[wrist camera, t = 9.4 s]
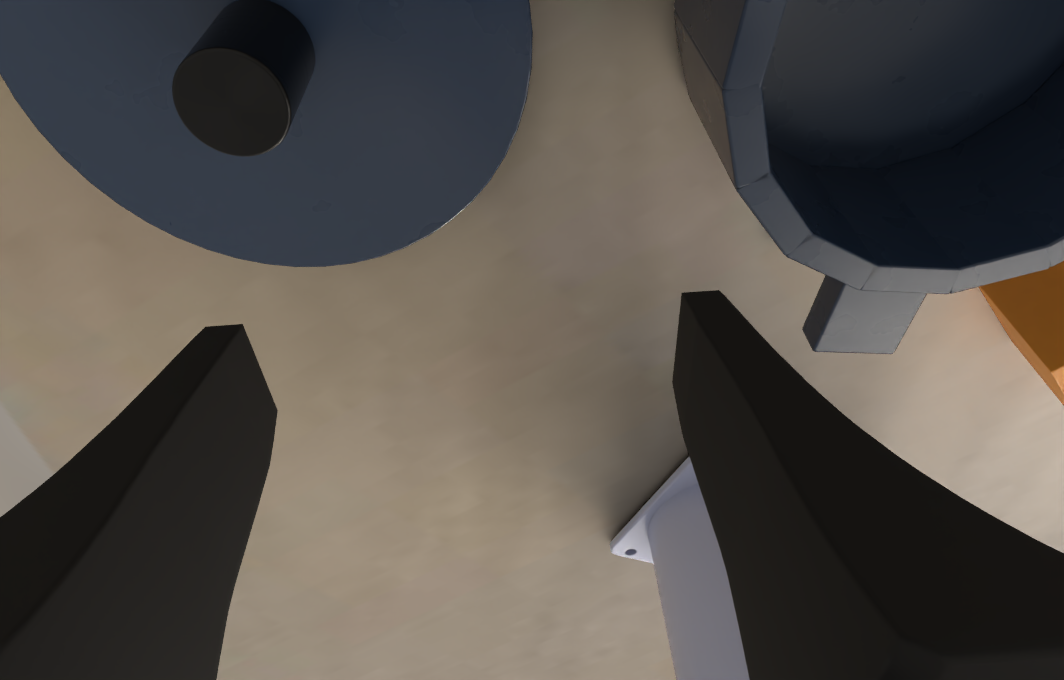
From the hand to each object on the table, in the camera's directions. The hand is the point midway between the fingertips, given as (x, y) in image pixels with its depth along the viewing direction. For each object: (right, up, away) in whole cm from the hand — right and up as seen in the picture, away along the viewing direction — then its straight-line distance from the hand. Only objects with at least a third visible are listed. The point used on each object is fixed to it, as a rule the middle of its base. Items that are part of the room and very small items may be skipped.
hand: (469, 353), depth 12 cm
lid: (-5, +8, +6) cm, 11 cm away
